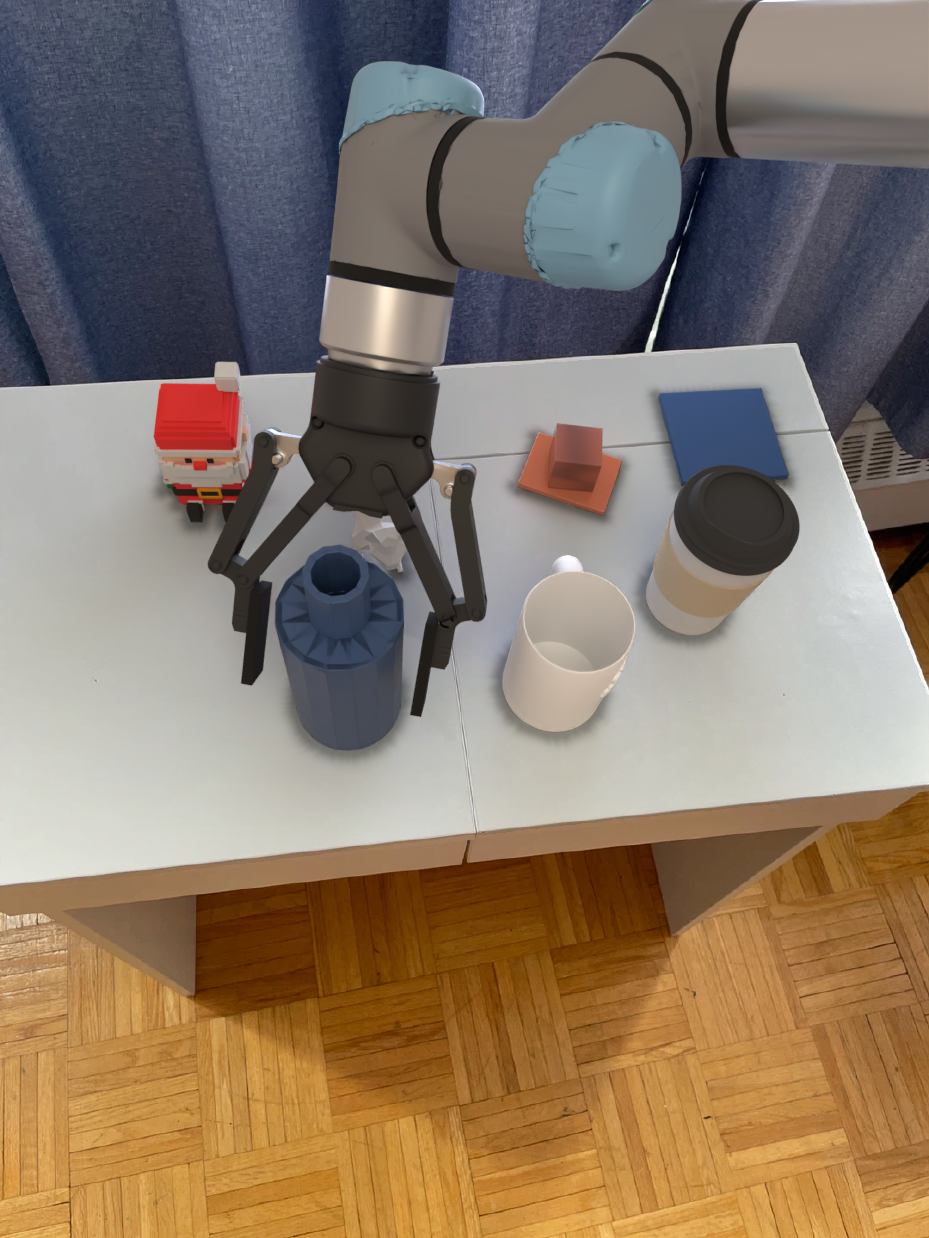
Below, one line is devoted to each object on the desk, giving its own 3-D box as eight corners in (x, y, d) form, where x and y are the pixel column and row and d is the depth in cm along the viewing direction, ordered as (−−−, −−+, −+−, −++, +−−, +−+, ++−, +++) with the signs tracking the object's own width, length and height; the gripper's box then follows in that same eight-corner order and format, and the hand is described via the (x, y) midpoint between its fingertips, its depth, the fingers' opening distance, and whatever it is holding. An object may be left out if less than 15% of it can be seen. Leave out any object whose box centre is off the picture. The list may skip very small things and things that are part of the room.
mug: (601, 600, 78) (635, 525, 68) (605, 736, 73) (643, 678, 62) (503, 593, 78) (522, 517, 67) (500, 729, 73) (520, 670, 62)
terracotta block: (593, 455, 84) (602, 427, 80) (592, 492, 82) (602, 466, 79) (549, 450, 84) (556, 422, 80) (547, 487, 82) (554, 461, 79)
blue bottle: (415, 674, 74) (424, 540, 55) (377, 765, 71) (374, 656, 52) (322, 640, 75) (300, 497, 56) (280, 729, 72) (241, 608, 53)
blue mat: (759, 391, 89) (761, 387, 89) (787, 479, 85) (789, 475, 85) (658, 397, 88) (660, 393, 88) (681, 485, 84) (683, 482, 84)
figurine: (162, 522, 78) (127, 436, 68) (170, 453, 82) (137, 359, 71) (265, 523, 79) (247, 437, 68) (269, 454, 82) (252, 361, 71)
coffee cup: (661, 534, 82) (715, 429, 68) (755, 584, 80) (829, 487, 67) (615, 612, 78) (662, 517, 65) (712, 666, 76) (781, 581, 63)
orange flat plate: (621, 463, 85) (622, 459, 84) (603, 516, 82) (604, 512, 82) (537, 435, 85) (538, 431, 85) (517, 486, 83) (517, 483, 82)
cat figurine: (365, 626, 76) (360, 538, 63) (319, 429, 84) (307, 315, 71) (419, 615, 77) (425, 526, 64) (368, 421, 85) (365, 307, 72)
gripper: (568, 390, 60) (504, 701, 67) (211, 325, 60) (186, 642, 67) (573, 402, 53) (501, 748, 60) (168, 328, 53) (145, 682, 60)
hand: (334, 692), depth 63 cm, fingers open, 11 cm apart
